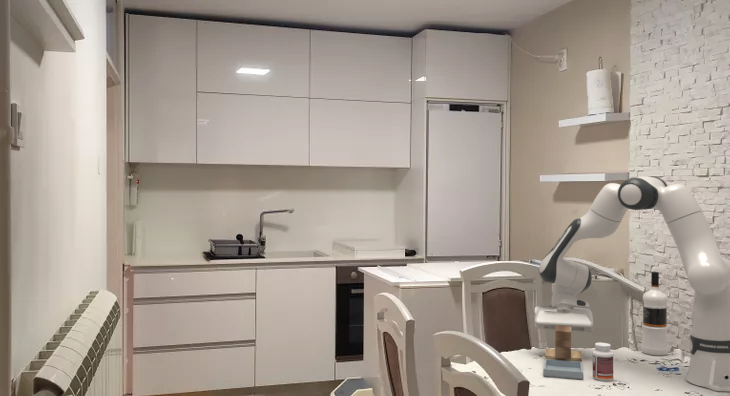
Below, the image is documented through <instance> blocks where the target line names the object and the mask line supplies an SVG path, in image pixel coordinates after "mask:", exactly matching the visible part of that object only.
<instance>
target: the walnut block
mask: <svg viewBox="0 0 730 396" xmlns="http://www.w3.org/2000/svg"><path fill="white" fill-rule="evenodd" d="M554 331H555V336H554V337H555V339H554V343H555V348H554V349H555V358H568V359H571V351H572V331H571V326H557V325H556V330H554Z"/></svg>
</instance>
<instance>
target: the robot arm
mask: <svg viewBox="0 0 730 396" xmlns="http://www.w3.org/2000/svg"><path fill="white" fill-rule="evenodd" d="M651 209H656V210H657V211H659V212H660V214H661V215H662V217H663V220H664V221H665V224H666V225H667V228H668V230H669V232H670V234H671V237H672V239H673V240H674V243H675V245H676V247H677V249H678V253H679V257H680V260H681V263H682V267H683V269H684V271H685V274H686V276H687V281H688V284H689V285H690V287H691V288H692V289H693V290H694V294H693V295H694V297H693V303H692V308H691V334H690V337H689V338H690V339H689V352H690V359H689V366H688V370H687V373H686V376H685V381H687V382H688V383H689V384H693V385H696V386H698V387H699V386H700V387H703V388H707V389H709V390H712V391H715V392H727V393H728V392H730V260H729V259H727V258H725V257H723V256H722V255H721V253H720V250H719V247H718V244H717V242H716V239H715V233H714V232H713V230H712V228H711V226H710V224H709V222H708V220H707V218H706V216H705V213H704V212H703V210H702V208H701V206H700V204H699V203H698V201H697V199H696V198H695V196H694V195H693V194H692V192H691V191H690V189H689V188H688V187H687V186H686V185H683V184H680V183H674V184H670V185H668V184H667V182H666V181H665V180H664V179H662V178H660V177H657V176H654V175H653V176H652V175H651V176H647V175H640V176H635V177H630V178H628V179H626V180H624V181H623V182H622V183H621V184H619V183H616V182H615V183H614V182H610V183H606V184H605V185H604V186H603V187H602V188H601V189H600V191H599V192H598V193H597V195H596V197H595V198H594V200H593V202H592V203H591V206H590V207H589V210H588V211H587V212H586V213H585V214H584V215H582V216H581V217H579V218H574V220H573V221H572V222H571V223H569V225H568V226H567V227H566V228H565V230H564V231H563V233H562V234H561V236H560V237H559V239H558V240H557V241H556V243H555V244H554V246H553V247H552V248H551V249H550V251H549V252H548V253H547V254H546V255H545V256H544V257H543V258H542V260H541V261H540V264H539V267H538V273H539V276H540V277H541V279H542V280H543V282H545V283H550V284H551V292H552V295H551V304H550V305H544V304H539V305H537V306H535V307H534V308H533V310H534V313H533V314H534V327H535V328H536V329H541V330H554V331H555V330H556V325H557V326H571V332H573V331H574V332H585V333H586V332H587V333H591V332H593V331H594V329H595V322H594V314H593V312H592V311H591V309H590V303H589V302H588V301H585V300H582V299H578V298H577V295H580V294H581V293H583V292H586V291H587V290H588V289H589V288H590V286H591V285H592V277H593V276H592V272H591V271H592V270H591V269H590V268H589V266H588V265H585V264H582V263H580V262H576V261H572V260H570V259H567V258H564V257H565V256H566V254H567V253H568V252H569V250H570V249H571V248H572V247H573V245H574V244H575V243H576V242H577V241H580V240H586V239H602V238H603V239H604V238H607V237H610V236H612V235H613V234H614V233H615V232H616V231H617V229H619V226H620V224H621V223H622V220H623V218H624V217H625V214H626V212H627V211H628V210H632V211H640V210H641V211H642V210H646V211H647V210H651Z"/></svg>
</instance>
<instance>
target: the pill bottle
mask: <svg viewBox="0 0 730 396" xmlns="http://www.w3.org/2000/svg"><path fill="white" fill-rule="evenodd" d="M611 348H612V345H611V344H610V343H607V342H595V344H594V350H593V351H592V378H593V379H594V380H596V381H601V382H610V381H613V380H614V353H613V352H612V351H611Z"/></svg>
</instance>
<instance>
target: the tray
mask: <svg viewBox="0 0 730 396" xmlns="http://www.w3.org/2000/svg"><path fill="white" fill-rule="evenodd" d="M543 378H553V379H563V380H565V379H566V380H573V381H584V368H583V361H582V362H578V361H565V360H552V359H545V358H544V363H543Z"/></svg>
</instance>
